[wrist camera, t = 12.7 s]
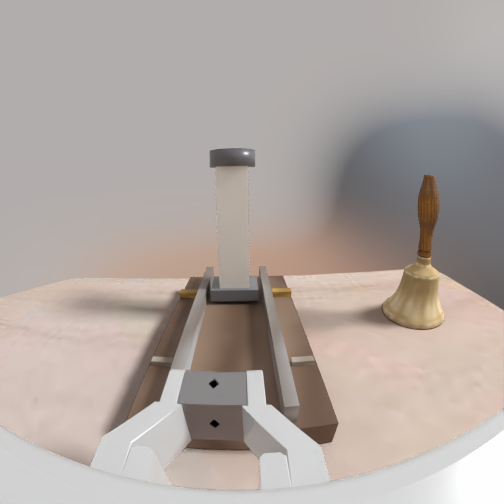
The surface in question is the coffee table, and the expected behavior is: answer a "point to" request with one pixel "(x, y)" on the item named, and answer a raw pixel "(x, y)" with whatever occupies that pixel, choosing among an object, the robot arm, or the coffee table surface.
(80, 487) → the robot arm
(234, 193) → the fader tab
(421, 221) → the hand bell
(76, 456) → the coffee table surface
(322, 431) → the fader track
